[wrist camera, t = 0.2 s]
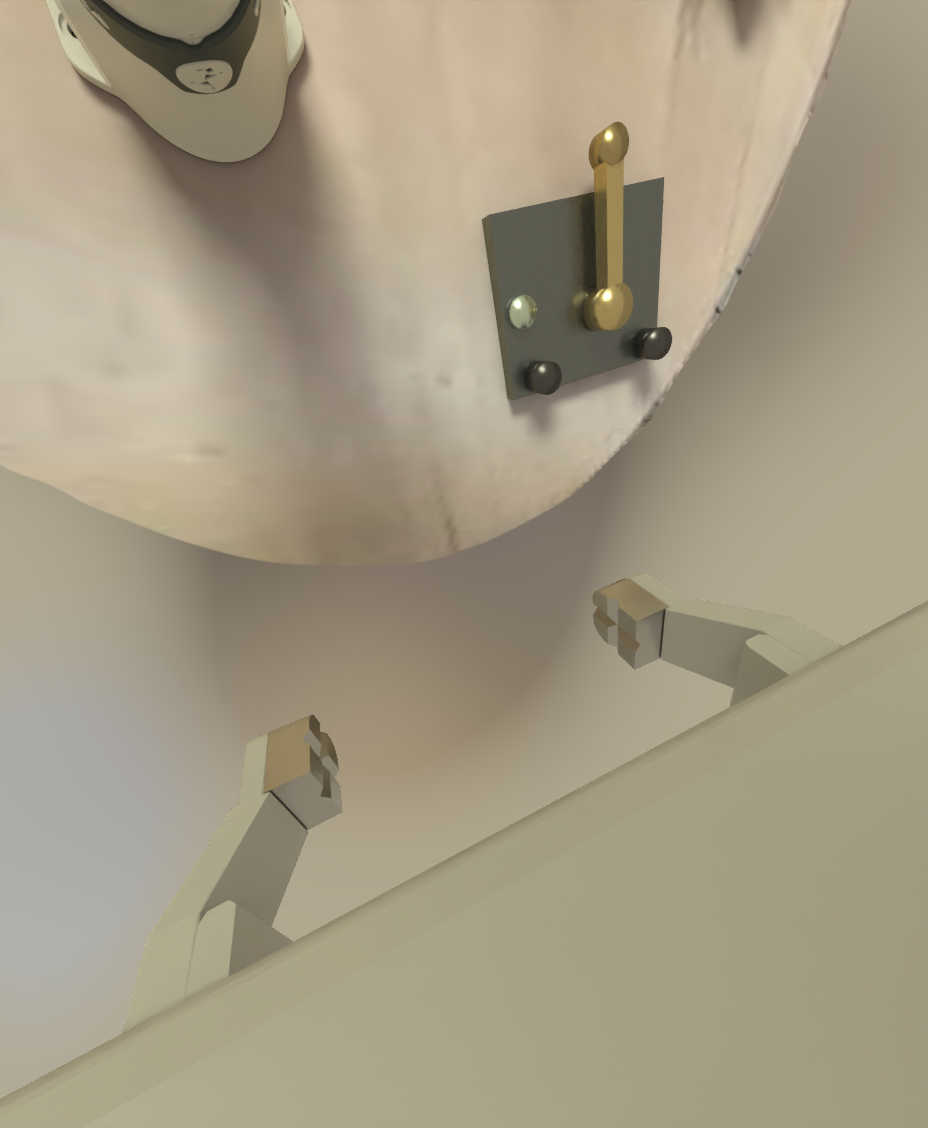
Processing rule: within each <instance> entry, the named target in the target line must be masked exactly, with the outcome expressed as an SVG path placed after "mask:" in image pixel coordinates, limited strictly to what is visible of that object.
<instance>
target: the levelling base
mask: <svg viewBox="0 0 928 1128" xmlns="http://www.w3.org/2000/svg"><path fill="white" fill-rule="evenodd" d="M663 191H664V177H662V178H658V179H653V180H648V181H644V182H639V183H635V184H630V185H625V186H623V284H625V285H627V286H628V287H629V288H630V290H631V292H632V295H633V309H632V312H631V315H630V317H629V319H628V321H627V322H626V323H625V324H624V325H623V326H622V327H621V328H619V329H616V330H602V331H594V330H591V329H590V328H588V326H587V325H586V323H585V321H584V317H583V308H584V304H585V301H586V299H587V297H588V295H589V294H590V293H591V292H592V291H593V290H594V289H595V288H597V277H596V233H595V192H593V193H588V194H584V195H579V196H574V197H570V198H565V199H560V200H556V201H551V202H546V203H542V204H537V205H532V206H528V207H523V208H519V209H514V210H509V211H505V212H500V213H495V214H491V215H488V216H487V217H485V218H484V219H482V222H483V229H484V236H485V243H486V250H487V257H488V264H489V271H490V278H491V285H492V292H493V299H494V306H495V313H496V320H497V326H498V333H499V340H500V347H501V354H502V361H503V368H504V375H505V382H506V389H507V396H508V398H509V399H513V400H515V399H518V398H522V397H525V396H528V395H531V394H534V393H540V394H546V395H548V394H552V393H553V392H555V391H556V390H557V389H558V387H559V386H560V385H563V384H566V383H569V382H572V381H575V380H579V379H582V378H585V377H588V376H591V375H594V374H598V373H601V372H604V371H607V370H610V369H614V368H617V367H620V366H623V365H626V364H629V363H633V362H636V361H639V360H642V359H651V360H659V359H661V358H663V357H664V356H665V355H666V354H667V353H668V351H669V349H670V347H671V343H672V335H671V332H670V330H669V329H668V328H666V327H659V328H657V314H658V293H659V273H660V252H661V232H662V211H663Z"/></svg>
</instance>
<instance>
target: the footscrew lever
mask: <svg viewBox="0 0 928 1128" xmlns="http://www.w3.org/2000/svg"><path fill="white" fill-rule="evenodd" d="M628 145H629V136H628V132H627V129H626V127H625V126H624V125H623V124H622V123H621V122H615V123H613V124H611V125H610V126H608V127H607V128H606V129H604V130H603V131H601V132H600V133H599V134H597V135H596V136H595V137H594V138H593V140H592V142H591V144H590V148H589V161H590V164H591V167H592V168H593V169H594V189H595V233H596V277H597V288H595V289H594V290H593V291H592V292H591V293H590V294H589V295H588V297H587V299H586V301H585V304H584V308H583V317H584V321H585V323H586V325H587V326H588V328H590V329H591V330H594V331H602V330H616V329H619V328H621V327H622V326H623V325H624V324H625V323H626V322H627V321H628V319H629V317H630V315H631V312H632V309H633V295H632V292H631V290H630V288H629V287H628V286H627V285H625V284H623V163H624V157H625V155H626V153H627V150H628Z"/></svg>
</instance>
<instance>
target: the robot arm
mask: <svg viewBox="0 0 928 1128" xmlns="http://www.w3.org/2000/svg"><path fill="white" fill-rule="evenodd" d="M46 2H47V5H48V8H49V11H50V13H51V16H52V19H53V22H54V25H55V28H56V30H57V33H58V36H59V39H60V42H61V44H62V47H63V50H64V52H65V54H66V56H67V57H68V59H69V61H70V62H71V64H72V66H73V67H74V68H75V69H76V71H77V72H78V73H79V74H81V75H82V76H83V77H84V78H86V79H87V80H88V81H90V82H92V83H93V84H95V85H97V86H98V87H100V88H102V89H104V90H106V91H107V92H109V93H111V94H113V95H115V96H117V97H119V98H120V99H122V100H123V101H124V102H125V103H127V104H128V105H129V106H130V107H131V108H132V109H133V110H134V111H135V112H136V113H137V114H138V115H139V116H140V117H141V118H142V119H143V120H144V121H145V122H146V123H147V124H148V125H149V126H151V127H152V128H153V129H154V130H155V131H156V132H158V133H159V134H160V135H161V136H162V137H164V138H165V139H167V140H168V141H169V142H171V143H172V144H174V145H175V146H177V147H179V148H181V149H182V150H184V151H186V152H188V153H190V154H192V155H195V156H197V157H200V158H203V159H207V160H211V161H217V162H235V161H240V160H244V159H247V158H249V157H252V156H253V155H255V154H257V153H258V152H260V151H261V150H262V149H263V148H264V147H265V146H266V145H267V144H268V143H269V142H270V140H271V139H272V137H273V136H274V134H275V132H276V131H277V128H278V126H279V124H280V121H281V118H282V114H283V109H284V104H285V96H286V88H287V83H288V79H289V75H290V74H291V72H292V71H293V69H294V68H295V66H296V65H297V63H298V61H299V60H300V58H301V56H302V53H303V50H304V44H305V41H304V34H303V28H302V25H301V22H300V20H299V17H298V15H297V12H296V10H295V7H294V5H293V3H292V0H46ZM284 11H285V13H286V16H285V13H284ZM71 30H72V31H73V32H74V34H75V35H76V37H77V38H78V39H77V38H74V37H73V36H72V34H71ZM593 603H594V604H595V605H596V606H597V609H596V611H595V612H594V614H593V616H594V624H595V626H596V629H597V631H598V633H599V635H600V636H601V637H602V639H603V640H604V641H606V643H608V644H610V645H613V646H617V647H618V654H619V655H620V656H621V657H622V658H623V659H624V660H625V661H626V662H627V663H628V664H629V665H630V666H631V667H632V668H634V669H637V668H639V667H642V666H644V665H646V664H648V663H650V662H652V661H655V660H657V659H659V658H661V660H664V661H666V662H669V663H671V664H674V665H676V666H679V667H681V668H684V669H686V670H689V671H691V672H694V673H697V674H699V675H702V676H704V677H707V678H709V679H712V680H714V681H717V682H720V683H722V684H725V685H727V686H730V687H732V688H734V690H733V694H732V698H731V701H730V707H729V708H727V709H726V710H724V711H722V712H720V713H718V714H716V715H715V716H713V717H711V718H709V719H707V720H705V721H703V722H702V723H700V724H698V725H696V726H694V727H692V728H690V729H689V730H687V731H685V732H683V733H681V734H679V735H677V736H675V737H673V738H672V739H670V740H668V741H666V742H664V743H662V744H660V745H659V746H657V747H655V748H653V749H651V750H649V751H647V752H646V753H644V754H642V755H640V756H638V757H636V758H634V759H633V760H631V761H629V762H627V763H625V764H623V765H621V766H619V767H618V768H616V769H614V770H612V771H610V772H608V773H606V774H604V775H603V776H601V777H599V778H597V779H596V780H593V781H591V782H590V783H588V784H586V785H584V786H582V787H581V788H578V789H577V790H575V791H573V792H571V793H569V794H567V795H565V796H564V797H562V798H560V799H558V800H556V801H554V802H552V803H550V804H549V805H547V806H545V807H543V808H541V809H539V810H537V811H536V812H534V813H532V814H530V815H529V816H526V817H525V818H523V819H521V820H519V821H517V822H515V823H513V824H511V825H510V826H508V827H506V828H504V829H502V830H500V831H499V832H497V833H495V834H493V835H491V836H489V837H487V838H485V839H484V840H482V841H480V842H478V843H476V844H474V845H472V846H471V847H469V848H467V849H465V850H463V851H461V852H460V853H458V854H456V855H454V856H452V857H450V858H448V859H447V860H445V861H443V862H441V863H439V864H437V865H435V866H433V867H432V868H430V869H428V870H426V871H424V872H422V873H420V874H419V875H417V876H415V877H413V878H411V879H409V880H407V881H406V882H404V883H402V884H400V885H398V886H396V887H394V888H392V889H391V890H389V891H387V892H385V893H383V894H381V895H379V896H378V897H376V898H374V899H372V900H370V901H368V902H366V903H365V904H363V905H361V906H359V907H357V908H355V909H354V910H352V911H350V912H348V913H346V914H344V915H342V916H341V917H339V918H337V919H335V920H333V921H331V922H329V923H328V924H326V925H324V926H322V927H320V928H318V929H317V930H314V931H313V932H311V933H309V934H307V935H305V936H303V937H301V938H300V939H298V940H296V941H294V942H293V941H292V940H290V939H289V938H287V937H286V936H285V935H283V934H282V933H280V932H278V931H277V930H275V929H274V928H272V927H271V926H272V924H273V921H274V919H275V916H276V914H277V911H278V908H279V906H280V903H281V901H282V898H283V896H284V893H285V891H286V888H287V885H288V883H289V880H290V878H291V875H292V872H293V870H294V867H295V865H296V862H297V860H298V857H299V855H300V852H301V849H302V847H303V844H304V842H305V839H306V837H307V834H308V831H307V830H309V829H311V828H313V827H314V826H316V825H318V824H320V823H322V822H324V821H326V820H328V819H330V818H332V817H334V816H336V815H337V814H339V813H341V812H342V802H341V790H340V785H339V784H338V782H337V781H336V779H335V776H336V773H337V771H338V769H339V768H338V759H337V755H336V751H335V748H334V745H333V743H332V741H331V739H330V737H329V736H328V734H327V733H323V732H320V723H319V721H318V720H317V719H316V717H315V716H314V715H310V716H307V717H305V718H302V719H300V720H297V721H295V722H292V723H290V724H288V725H285V726H282V727H280V728H278V729H275V730H273V731H271V732H269V733H266V734H264V735H261V736H259V737H257V738H254V739H252V740H250V741H249V743H248V745H247V747H246V752H245V759H244V766H243V773H242V780H241V788H240V795H239V803H238V806H237V807H235V808H233V809H231V811H230V812H229V814H228V815H227V817H226V818H225V820H224V822H223V823H222V824H221V826H220V828H219V829H218V831H217V832H216V834H215V835H214V837H213V838H212V840H211V841H210V843H209V844H208V846H207V848H206V849H205V851H204V852H203V854H202V855H201V857H200V858H199V860H198V861H197V863H196V864H195V866H194V868H193V869H192V871H191V872H190V874H189V875H188V877H187V878H186V880H185V881H184V883H183V884H182V886H181V887H180V889H179V890H178V892H177V893H176V895H175V897H174V898H173V900H172V901H171V903H170V904H169V906H168V907H167V909H166V910H165V912H164V913H163V915H162V917H161V918H160V920H159V921H158V923H157V924H156V926H155V927H154V929H153V930H152V932H151V934H150V935H149V936H148V938H147V941H146V945H145V949H144V952H143V956H142V960H141V964H140V967H139V972H138V975H137V979H136V983H135V987H134V991H133V995H132V998H131V1002H130V1006H129V1010H128V1013H127V1017H126V1021H125V1025H124V1029H123V1033H122V1034H121V1035H119V1036H117V1037H115V1038H113V1039H111V1040H110V1041H108V1042H106V1043H104V1044H102V1045H100V1046H98V1047H96V1048H95V1049H93V1050H91V1051H89V1052H87V1053H85V1054H83V1055H82V1056H80V1057H78V1058H76V1059H74V1060H72V1061H70V1062H69V1063H67V1064H65V1065H63V1066H61V1067H59V1068H57V1069H56V1070H54V1071H52V1072H50V1073H48V1074H46V1075H45V1076H42V1077H40V1078H39V1079H37V1080H35V1081H33V1082H31V1083H29V1084H27V1085H26V1086H24V1087H22V1088H20V1089H18V1090H16V1091H14V1092H13V1093H11V1094H9V1095H7V1096H5V1097H3V1098H1V1099H0V1128H928V601H926V602H924V603H923V604H921V605H919V606H917V607H915V608H914V609H912V610H910V611H908V612H906V613H904V614H902V615H900V616H899V617H897V618H895V619H893V620H891V621H889V622H887V623H886V624H884V625H882V626H880V627H878V628H876V629H874V630H872V631H871V632H869V633H867V634H865V635H863V636H861V637H859V638H858V639H856V640H854V641H852V642H850V643H848V644H847V645H845V646H842V645H840V644H838V643H837V642H835V641H833V640H831V639H830V638H828V637H826V636H824V635H822V634H821V633H819V632H817V631H815V630H813V629H812V628H810V627H808V626H806V625H804V624H803V623H801V622H799V621H797V620H795V619H794V618H791V617H789V616H783V615H778V614H773V613H767V612H762V611H757V610H752V609H747V608H741V607H736V606H731V605H726V604H720V603H715V602H710V601H704V600H699V599H694V598H689V599H686V600H685V599H684V598H682V597H680V596H679V595H678V594H676V593H675V592H673V591H672V590H670V589H668V588H667V587H665V586H664V585H662V584H661V583H659V582H658V581H656V580H655V579H653V578H652V577H650V576H649V575H647V574H645V573H643V572H638V573H635V574H633V575H631V576H628V577H626V578H624V579H622V580H619V581H617V582H615V583H613V584H611V585H609V586H606V587H604V588H602V589H599V590H597V591H595V592H594V595H593Z"/></svg>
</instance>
